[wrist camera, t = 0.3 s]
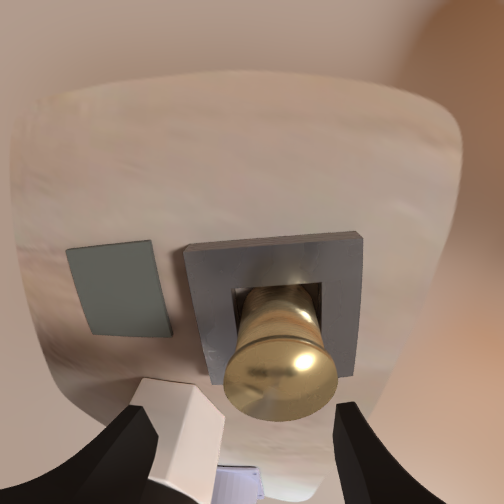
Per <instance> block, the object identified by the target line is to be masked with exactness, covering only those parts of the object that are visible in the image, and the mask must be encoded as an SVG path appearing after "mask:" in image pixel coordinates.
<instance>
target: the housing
mask: <svg viewBox="0 0 504 504" xmlns="http://www.w3.org/2000/svg"><path fill="white" fill-rule="evenodd" d="M183 255H184V261H185V266H186V272H187V277H188V282H189V287H190V292H191V297H192V302H193V307H194V311H195V316H196V321H197V325H198V330H199V334H200V339H201V343H202V347H203V351H204V355H205V360H206V364H207V368H208V372H209V376H210V380H211V383H212V385H223V380H224V374H225V370H226V366H227V363H228V361H229V360H230V358H231V357H232V355H233V354H234V353H235V350H236V344H237V338H238V333H239V327H240V322H239V315H238V308H237V301H236V293H235V288H249V287H264V286H278V285H291V284H304V283H316V282H318V325H319V329H320V333H321V337H322V341H323V345H324V349H326V350H327V352H328V353H329V354H330V355H331V357H332V358H333V361H334V363H335V367H336V371H337V376H338V378H340V377H348V376H353V372H354V364H355V356H356V348H357V339H358V329H359V317H360V305H361V289H362V268H363V237H362V236H360V235H359V234H358V233H357V232H356V231H350V232H336V233H322V234H308V235H295V236H282V237H269V238H256V239H244V240H231V241H219V242H208V243H196V244H189V245H188V247H187V248H186V249H185V250H184V251H183Z"/></svg>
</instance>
